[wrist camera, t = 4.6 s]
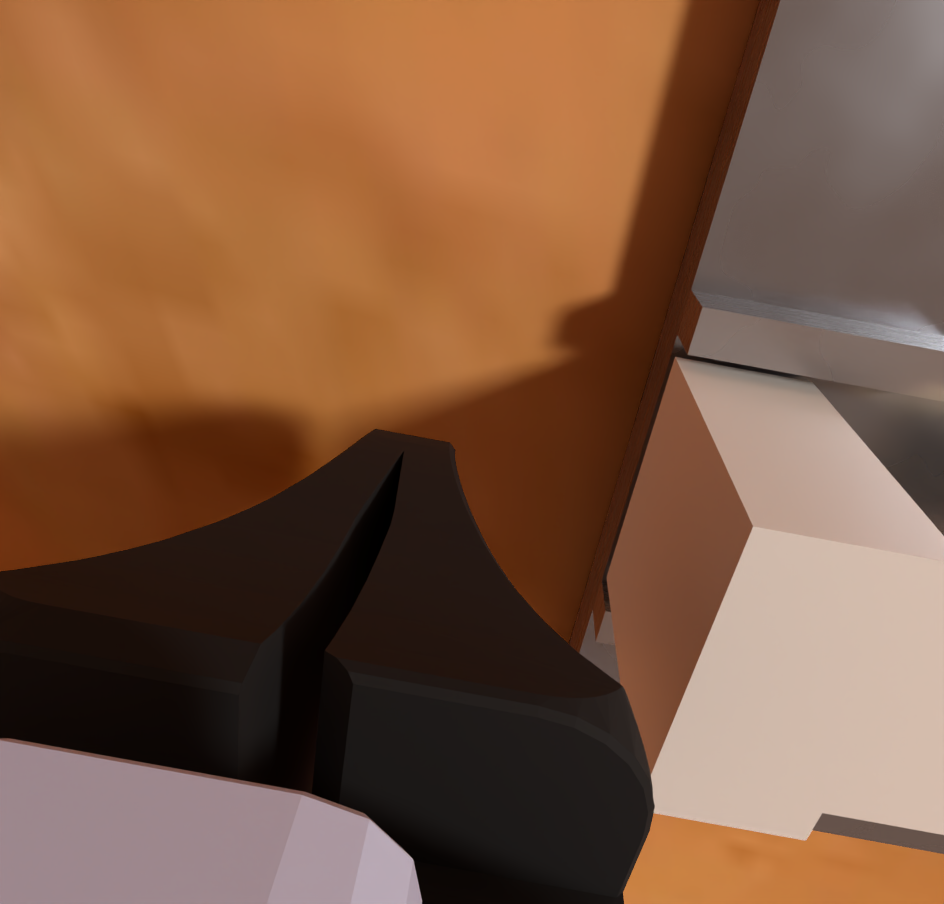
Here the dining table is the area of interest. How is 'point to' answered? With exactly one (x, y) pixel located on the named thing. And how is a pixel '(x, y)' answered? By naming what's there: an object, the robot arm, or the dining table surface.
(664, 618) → the latch
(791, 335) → the base plate
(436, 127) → the dining table surface
